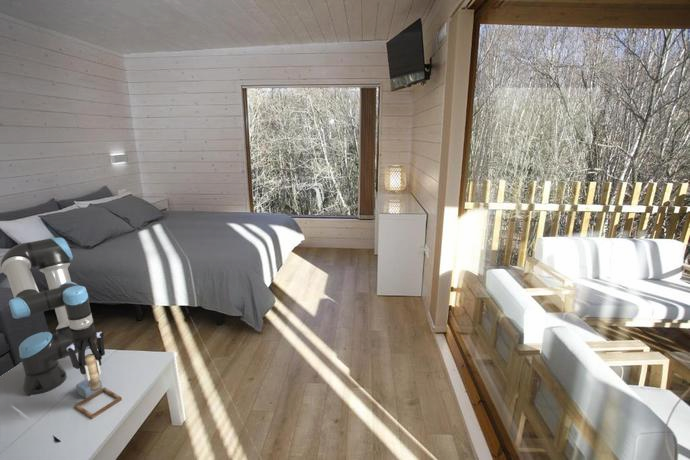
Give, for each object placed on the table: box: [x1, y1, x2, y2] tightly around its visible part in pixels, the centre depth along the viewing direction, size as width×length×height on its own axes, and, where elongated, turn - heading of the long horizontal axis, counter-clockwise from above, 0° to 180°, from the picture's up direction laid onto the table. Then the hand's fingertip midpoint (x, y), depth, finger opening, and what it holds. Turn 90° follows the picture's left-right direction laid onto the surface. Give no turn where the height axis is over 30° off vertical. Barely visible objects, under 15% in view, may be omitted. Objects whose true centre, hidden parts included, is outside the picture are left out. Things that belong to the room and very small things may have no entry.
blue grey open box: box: [76, 378, 104, 399], centre depth 162 cm, size 7×7×5 cm
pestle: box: [85, 353, 101, 391], centre depth 151 cm, size 4×4×15 cm
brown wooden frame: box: [74, 387, 123, 420], centre depth 156 cm, size 12×12×2 cm
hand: (92, 376), depth 152 cm, fingers closed on pestle, 3 cm apart
